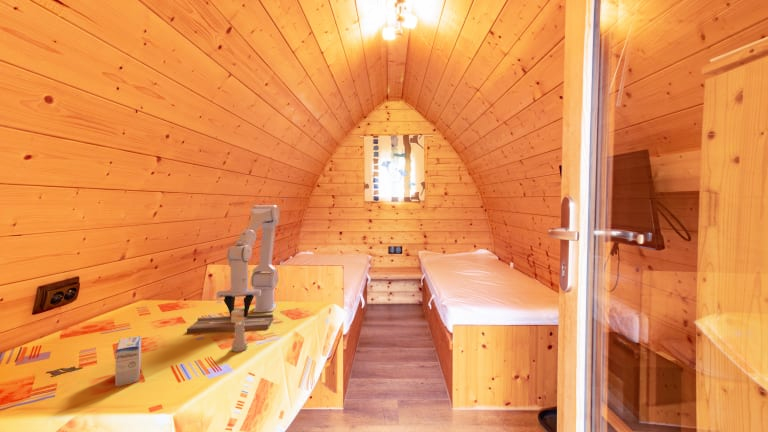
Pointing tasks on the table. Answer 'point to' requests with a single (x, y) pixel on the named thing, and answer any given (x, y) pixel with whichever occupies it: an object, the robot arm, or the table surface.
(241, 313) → the block
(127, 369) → the medicine box
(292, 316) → the table surface
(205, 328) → the walnut board
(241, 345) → the rook chess piece
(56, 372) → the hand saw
